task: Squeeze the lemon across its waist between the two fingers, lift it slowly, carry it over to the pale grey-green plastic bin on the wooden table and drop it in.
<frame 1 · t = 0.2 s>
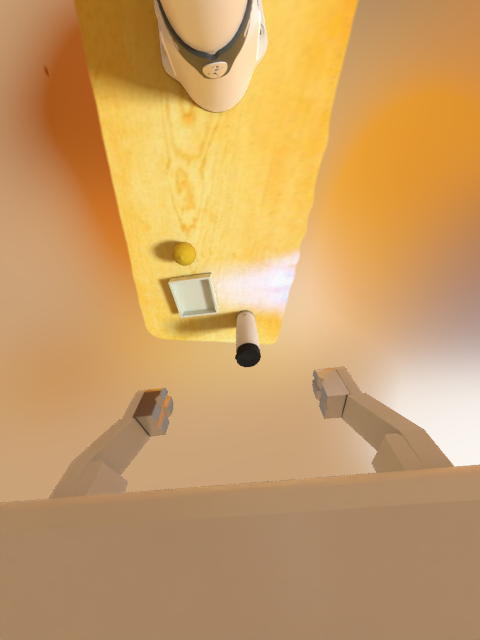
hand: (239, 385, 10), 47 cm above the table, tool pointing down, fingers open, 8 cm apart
bin: (196, 293, 59), on the table
lemon: (188, 250, 52), on the table
travel mug: (245, 317, 64), on the table
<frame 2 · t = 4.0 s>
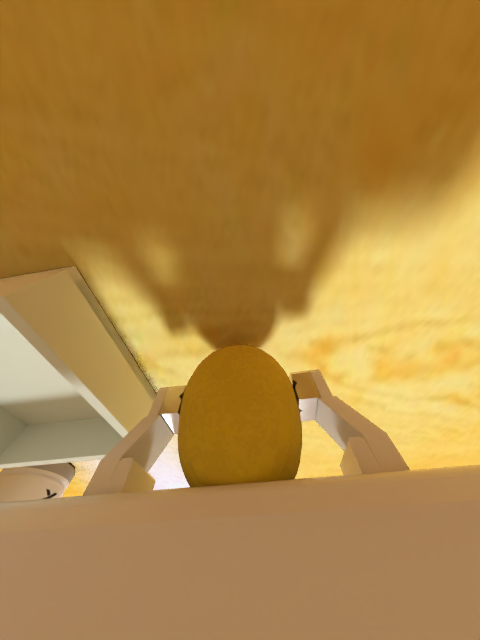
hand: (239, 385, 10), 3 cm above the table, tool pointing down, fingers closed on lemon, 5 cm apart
bin: (48, 366, 13), on the table
lemon: (238, 351, 13), on the table, touching gripper
travel mug: (47, 463, 21), on the table
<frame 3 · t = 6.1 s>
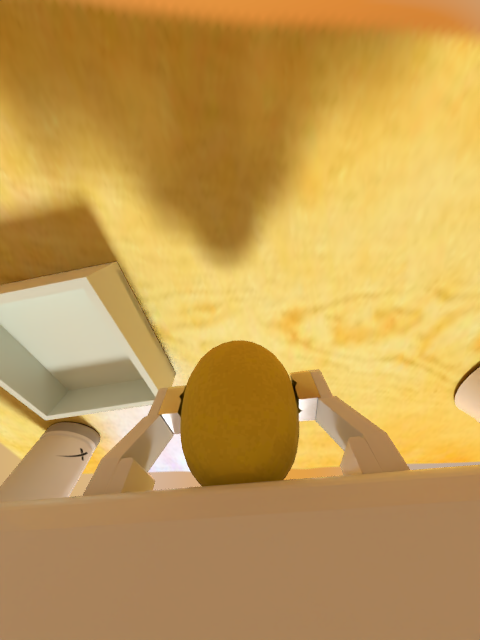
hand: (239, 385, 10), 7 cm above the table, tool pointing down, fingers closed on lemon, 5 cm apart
bin: (89, 339, 17), on the table
lemon: (238, 347, 13), point 4 cm above the table, touching gripper
travel mug: (76, 431, 25), on the table
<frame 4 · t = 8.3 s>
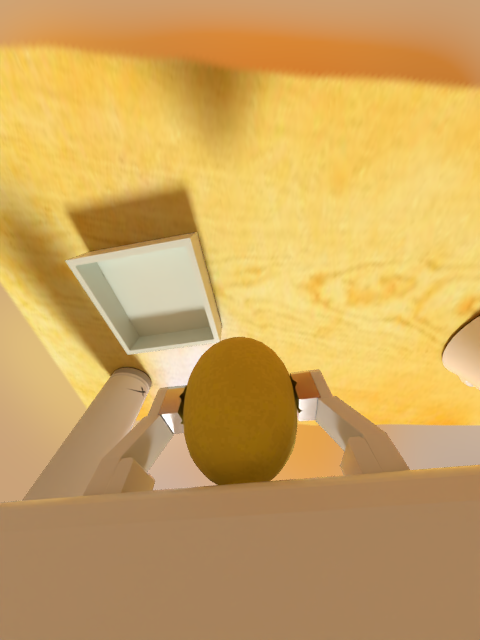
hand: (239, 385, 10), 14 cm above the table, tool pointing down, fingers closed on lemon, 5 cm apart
bin: (163, 293, 23), on the table
lemon: (239, 344, 13), point 11 cm above the table, touching gripper
travel mug: (133, 378, 32), on the table
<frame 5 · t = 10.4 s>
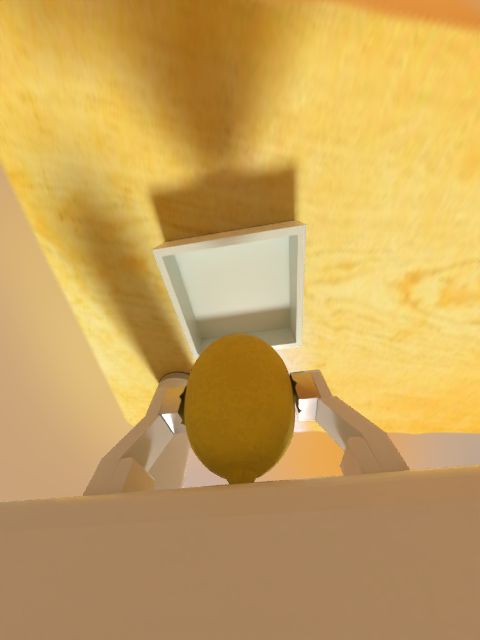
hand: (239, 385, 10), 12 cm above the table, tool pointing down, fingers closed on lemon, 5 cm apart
bin: (238, 290, 20), on the table
lemon: (238, 341, 14), point 8 cm above the table, touching gripper
travel mug: (181, 383, 29), on the table
when the fingers open (5 cm above the table, at t = 12.3 s): lemon stays where it is, resting on bin.
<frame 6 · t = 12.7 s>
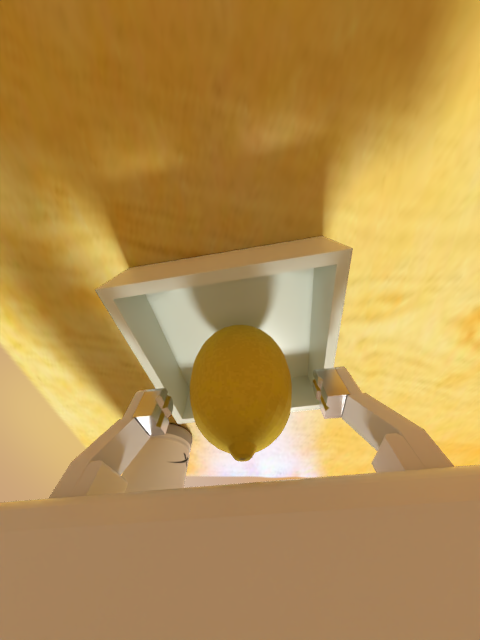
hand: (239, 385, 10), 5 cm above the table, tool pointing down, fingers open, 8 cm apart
bin: (237, 331, 15), on the table
lemon: (239, 333, 14), resting on bin
travel mug: (167, 433, 23), on the table
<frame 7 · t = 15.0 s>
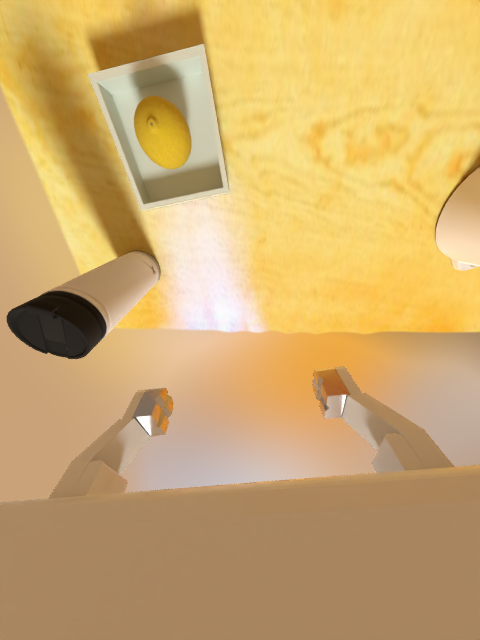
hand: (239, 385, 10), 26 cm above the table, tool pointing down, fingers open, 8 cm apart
bin: (175, 148, 25), on the table
lemon: (175, 146, 24), resting on bin
travel mug: (142, 267, 33), on the table
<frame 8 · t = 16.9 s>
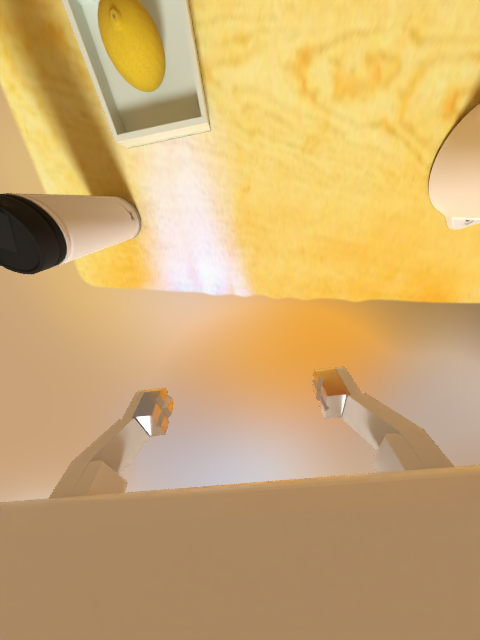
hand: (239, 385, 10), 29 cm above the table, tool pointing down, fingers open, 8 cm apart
bin: (151, 74, 23), on the table
lemon: (151, 71, 23), resting on bin
travel mug: (123, 217, 32), on the table
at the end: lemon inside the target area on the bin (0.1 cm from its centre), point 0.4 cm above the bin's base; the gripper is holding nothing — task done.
